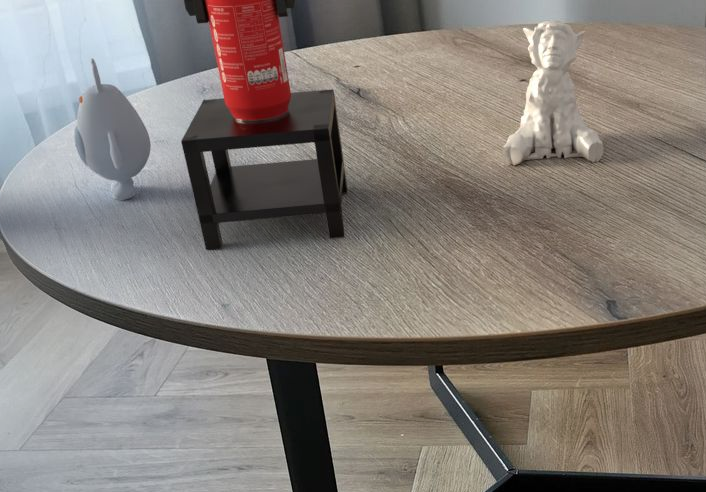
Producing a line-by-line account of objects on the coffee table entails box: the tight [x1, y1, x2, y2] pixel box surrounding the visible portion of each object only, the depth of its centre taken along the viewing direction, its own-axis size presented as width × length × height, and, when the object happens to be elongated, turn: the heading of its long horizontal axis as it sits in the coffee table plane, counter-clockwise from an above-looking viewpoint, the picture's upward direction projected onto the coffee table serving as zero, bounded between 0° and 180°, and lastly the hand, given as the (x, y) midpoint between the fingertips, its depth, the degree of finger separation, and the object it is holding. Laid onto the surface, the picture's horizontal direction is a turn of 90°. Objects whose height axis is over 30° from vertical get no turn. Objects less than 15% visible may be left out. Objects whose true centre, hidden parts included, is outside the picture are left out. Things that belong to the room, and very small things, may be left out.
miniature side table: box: [180, 89, 348, 251], centre depth 79 cm, size 11×11×9 cm
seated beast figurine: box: [500, 19, 605, 167], centre depth 90 cm, size 10×9×12 cm
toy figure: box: [73, 58, 152, 201], centre depth 85 cm, size 11×6×12 cm, turn 23°
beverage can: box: [205, 0, 292, 121], centre depth 74 cm, size 5×5×12 cm
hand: (243, 17), depth 73 cm, fingers open, 5 cm apart
